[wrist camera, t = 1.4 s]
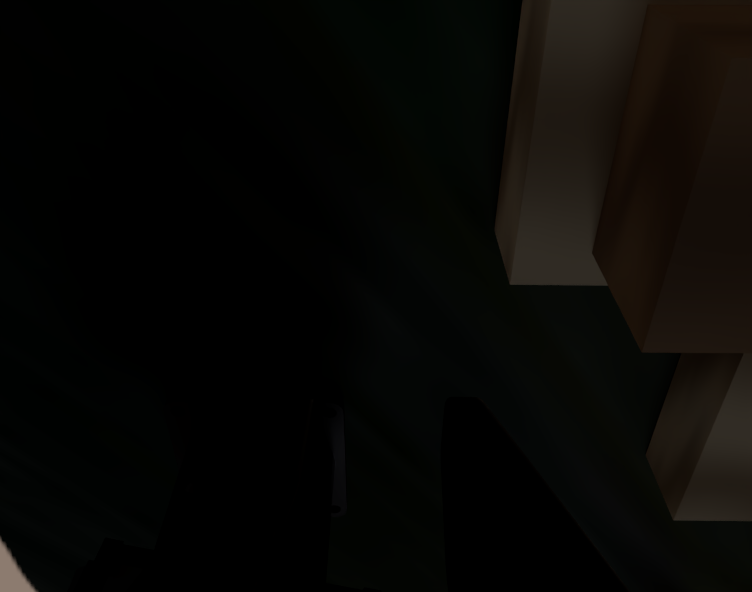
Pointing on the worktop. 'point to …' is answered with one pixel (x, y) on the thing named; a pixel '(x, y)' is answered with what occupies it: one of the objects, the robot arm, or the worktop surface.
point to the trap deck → (580, 222)
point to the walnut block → (684, 184)
